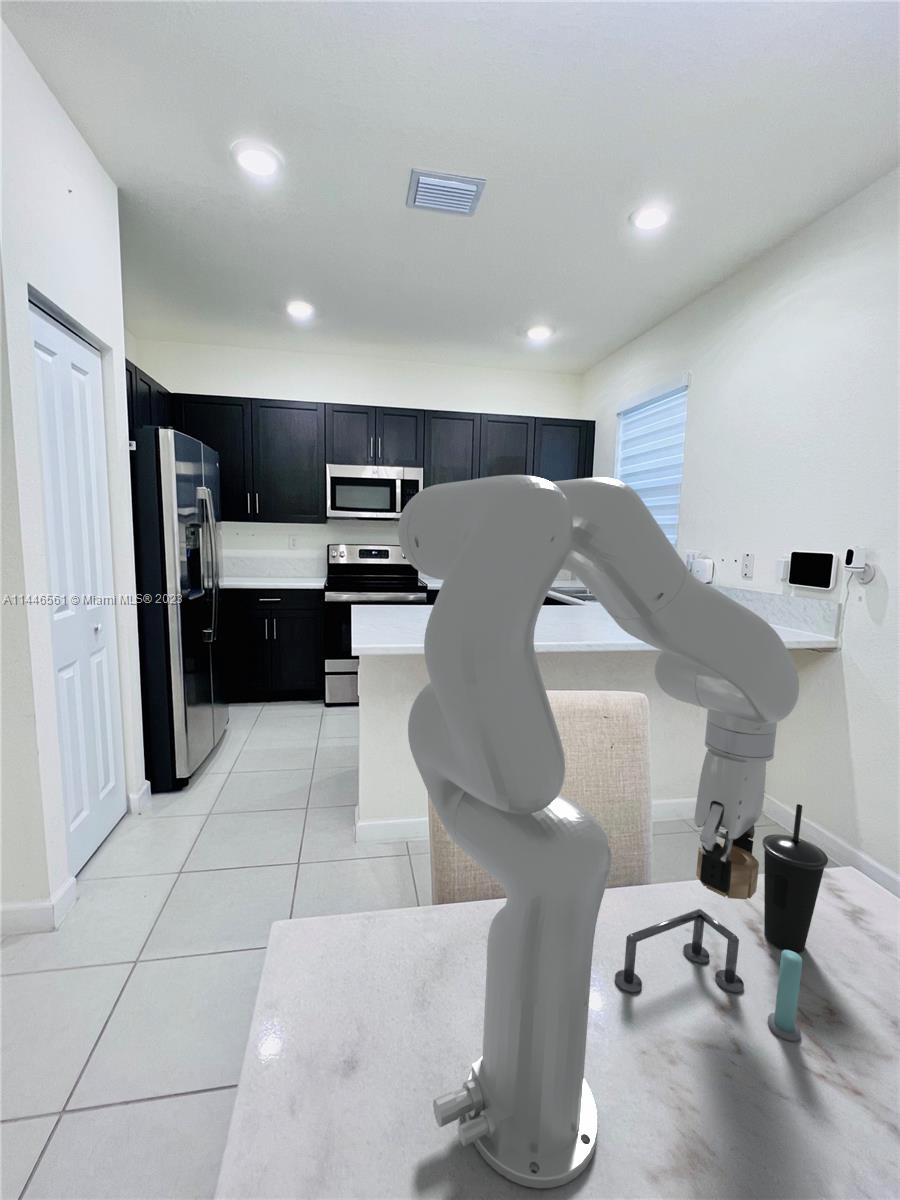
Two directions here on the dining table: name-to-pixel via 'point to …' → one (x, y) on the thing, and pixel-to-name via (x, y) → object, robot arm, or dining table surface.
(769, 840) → the drinking cup
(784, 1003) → the peg
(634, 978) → the corner grab bar
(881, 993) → the dining table surface
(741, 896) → the ring
